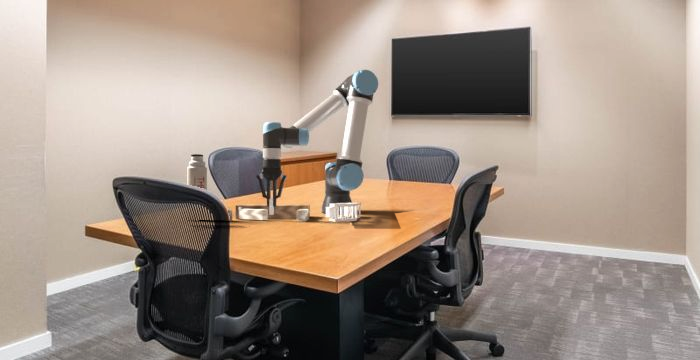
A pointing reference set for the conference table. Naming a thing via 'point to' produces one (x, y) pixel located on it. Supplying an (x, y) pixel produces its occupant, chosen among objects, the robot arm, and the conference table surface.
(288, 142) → the robot arm
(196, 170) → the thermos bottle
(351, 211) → the car outline toy
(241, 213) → the folding leg
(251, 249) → the conference table surface
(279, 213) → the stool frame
